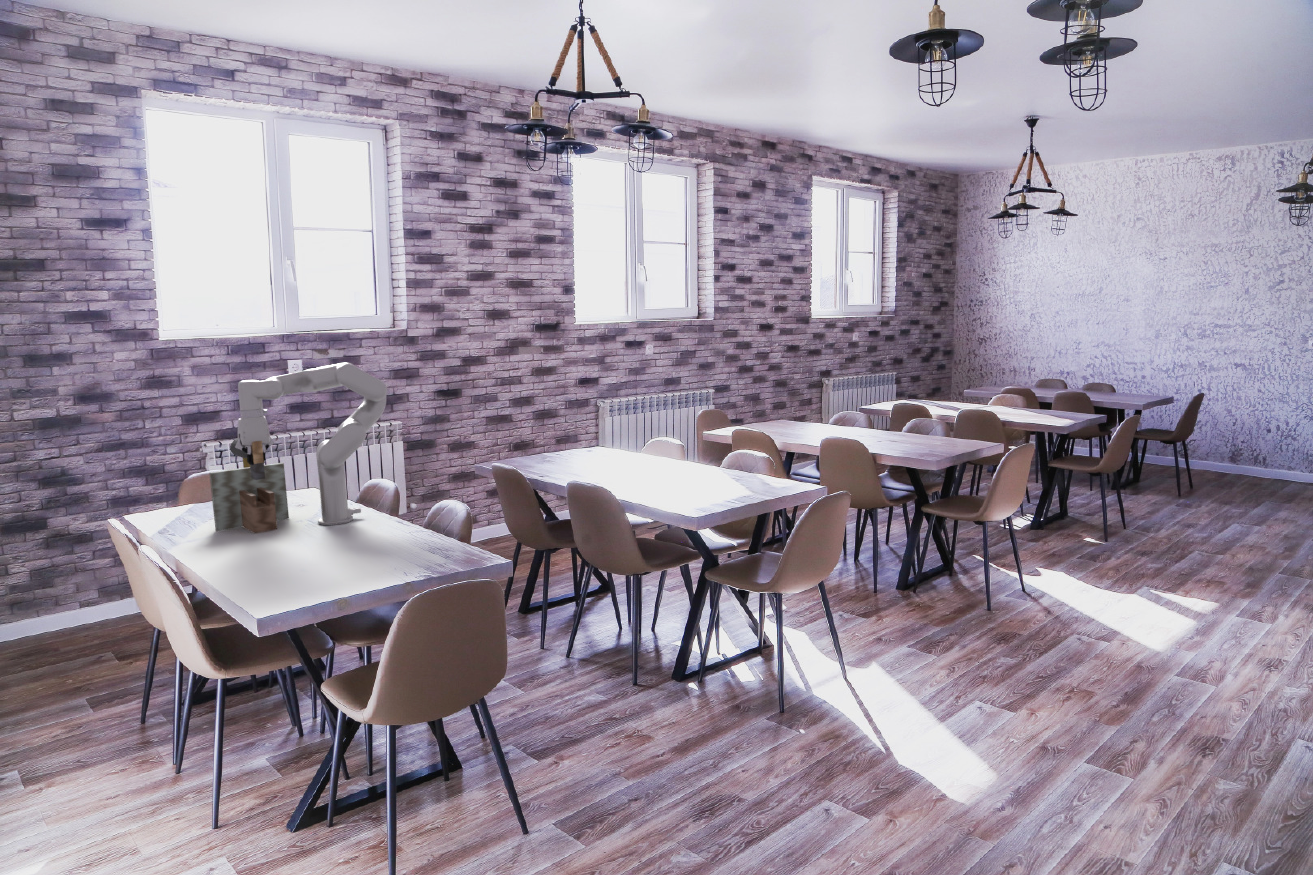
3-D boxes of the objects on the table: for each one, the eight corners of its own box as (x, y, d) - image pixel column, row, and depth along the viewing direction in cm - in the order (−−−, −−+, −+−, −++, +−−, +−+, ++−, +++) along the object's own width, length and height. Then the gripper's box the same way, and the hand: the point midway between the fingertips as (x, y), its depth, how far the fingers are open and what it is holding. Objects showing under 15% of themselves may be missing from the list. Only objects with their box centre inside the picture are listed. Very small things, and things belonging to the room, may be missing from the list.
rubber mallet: (267, 512, 343) (260, 439, 339) (249, 516, 338) (241, 441, 333) (253, 508, 351) (246, 436, 347) (235, 512, 346) (227, 439, 341)
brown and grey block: (260, 476, 315) (256, 439, 313) (265, 478, 312) (261, 441, 309) (251, 478, 313) (247, 440, 311) (256, 479, 309) (252, 442, 307)
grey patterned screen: (287, 517, 334) (281, 462, 330) (301, 524, 322) (296, 467, 319) (215, 530, 317) (209, 472, 313) (228, 538, 305) (222, 478, 301)
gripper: (271, 411, 317) (275, 459, 320) (224, 415, 306) (229, 465, 308) (279, 412, 312) (283, 461, 314) (231, 417, 300) (236, 468, 303)
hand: (256, 463), depth 311 cm, fingers closed on brown and grey block, 3 cm apart
